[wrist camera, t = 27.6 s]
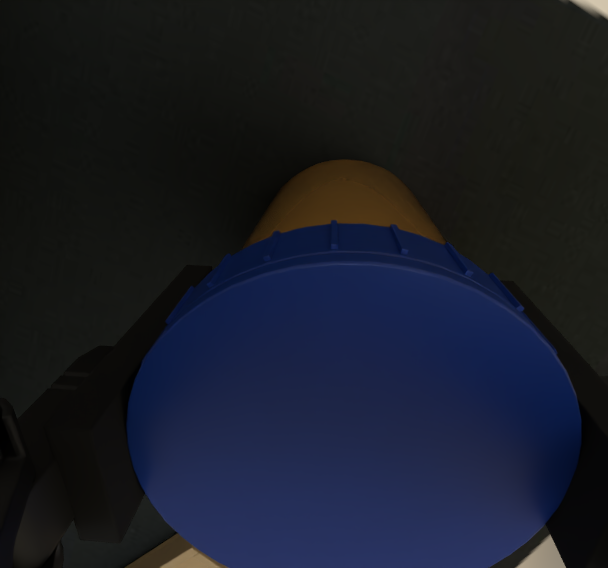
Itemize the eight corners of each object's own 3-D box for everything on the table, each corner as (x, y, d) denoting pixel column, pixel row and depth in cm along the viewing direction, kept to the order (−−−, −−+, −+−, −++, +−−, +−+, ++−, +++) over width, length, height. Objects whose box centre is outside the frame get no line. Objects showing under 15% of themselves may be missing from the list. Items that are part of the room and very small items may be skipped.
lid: (90, 375, 9) (35, 439, 8) (375, 120, 7) (390, 130, 5) (323, 557, 11) (321, 638, 10) (606, 419, 9) (671, 497, 7)
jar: (229, 238, 19) (85, 426, 8) (350, 119, 16) (366, 171, 6) (336, 340, 20) (331, 603, 10) (460, 248, 18) (627, 469, 7)
